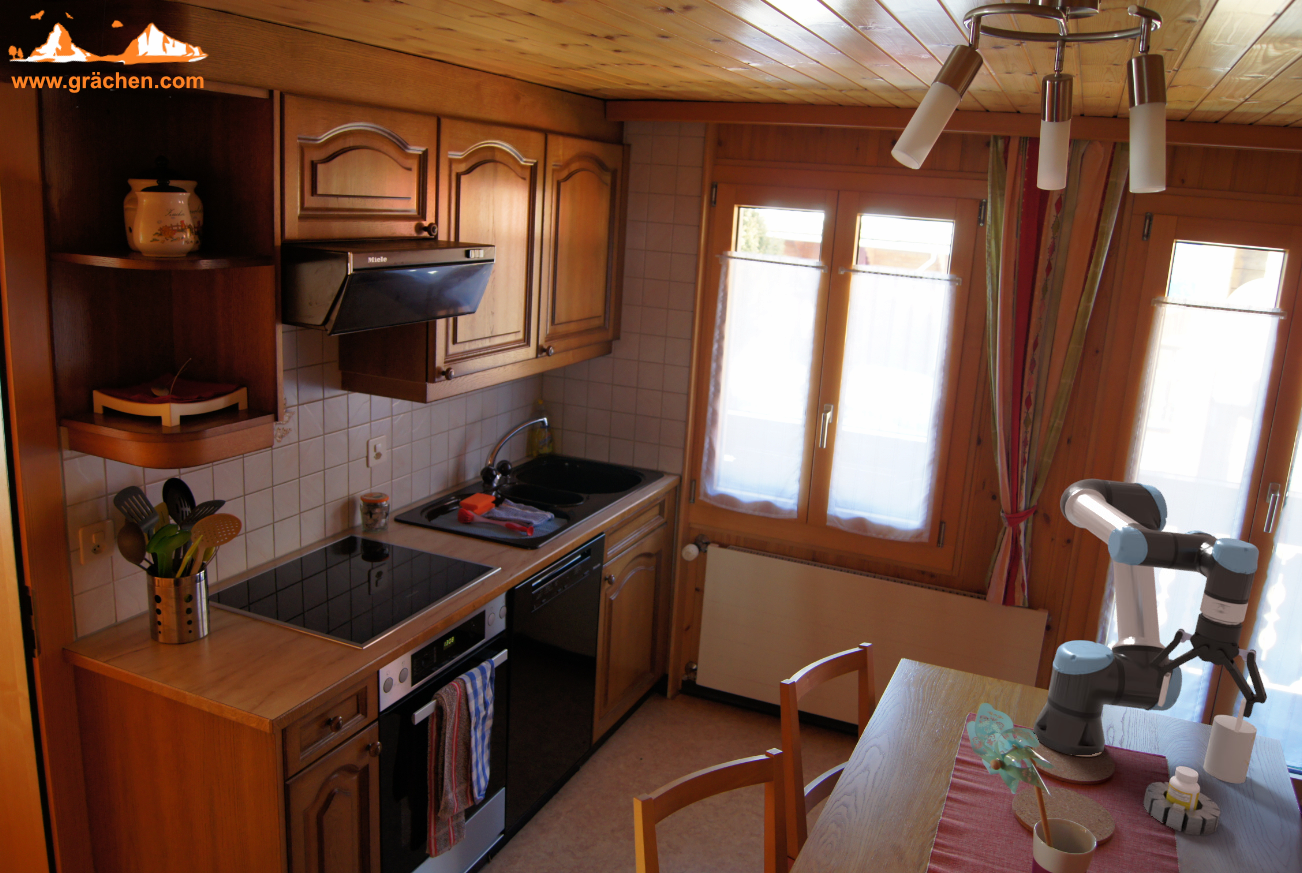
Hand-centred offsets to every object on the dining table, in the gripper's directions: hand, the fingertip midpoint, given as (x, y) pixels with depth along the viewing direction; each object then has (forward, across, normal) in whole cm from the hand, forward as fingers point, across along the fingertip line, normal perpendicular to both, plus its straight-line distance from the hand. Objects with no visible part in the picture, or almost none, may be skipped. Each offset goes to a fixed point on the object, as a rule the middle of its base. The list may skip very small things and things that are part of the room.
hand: (1198, 716), depth 187 cm
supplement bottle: (+21, +1, -2) cm, 21 cm away
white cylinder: (+22, +4, +26) cm, 34 cm away
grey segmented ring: (+21, +1, -2) cm, 21 cm away
